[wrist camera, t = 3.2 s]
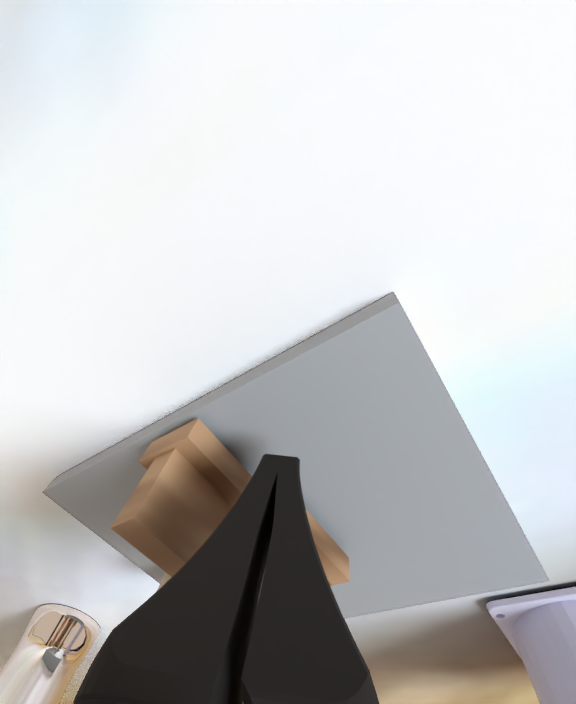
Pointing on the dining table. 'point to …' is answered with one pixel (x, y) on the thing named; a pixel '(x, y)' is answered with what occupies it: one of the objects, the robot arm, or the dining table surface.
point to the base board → (348, 465)
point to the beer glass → (47, 655)
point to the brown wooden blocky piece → (196, 502)
